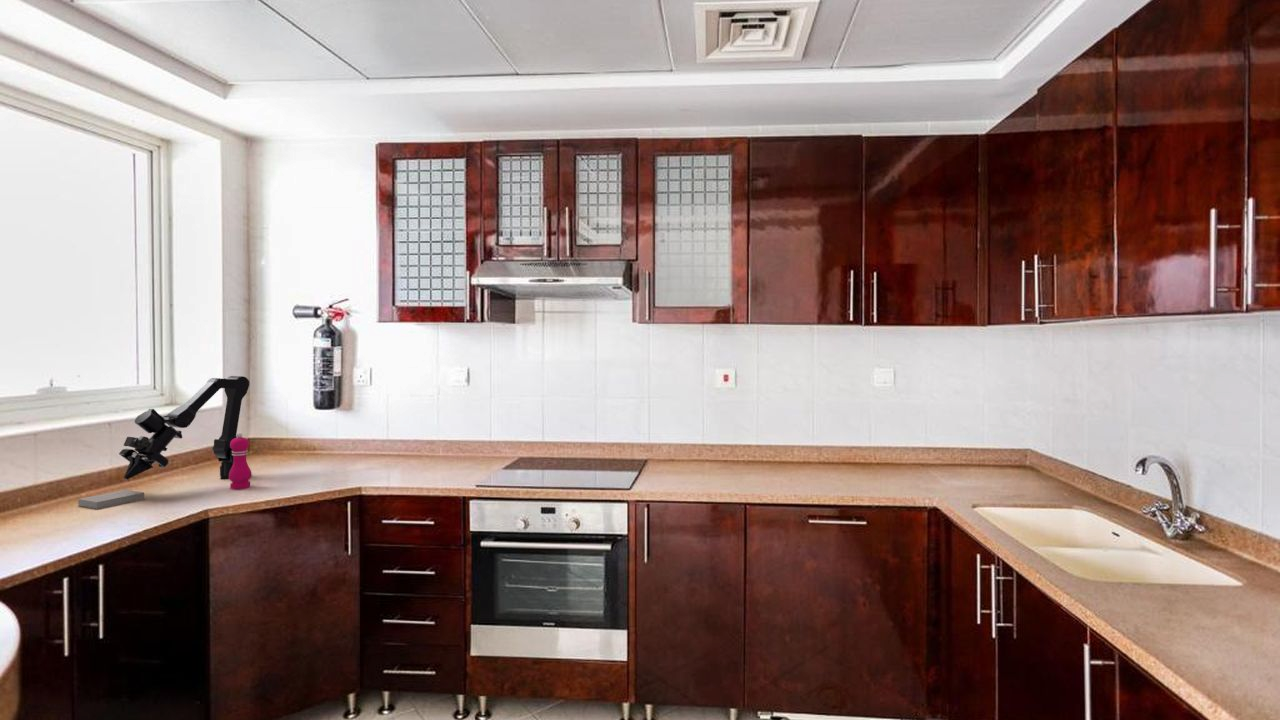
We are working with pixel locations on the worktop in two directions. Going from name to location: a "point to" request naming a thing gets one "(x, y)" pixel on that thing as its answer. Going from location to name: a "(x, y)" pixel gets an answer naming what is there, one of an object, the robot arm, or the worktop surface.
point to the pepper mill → (239, 463)
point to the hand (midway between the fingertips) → (125, 478)
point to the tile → (111, 499)
